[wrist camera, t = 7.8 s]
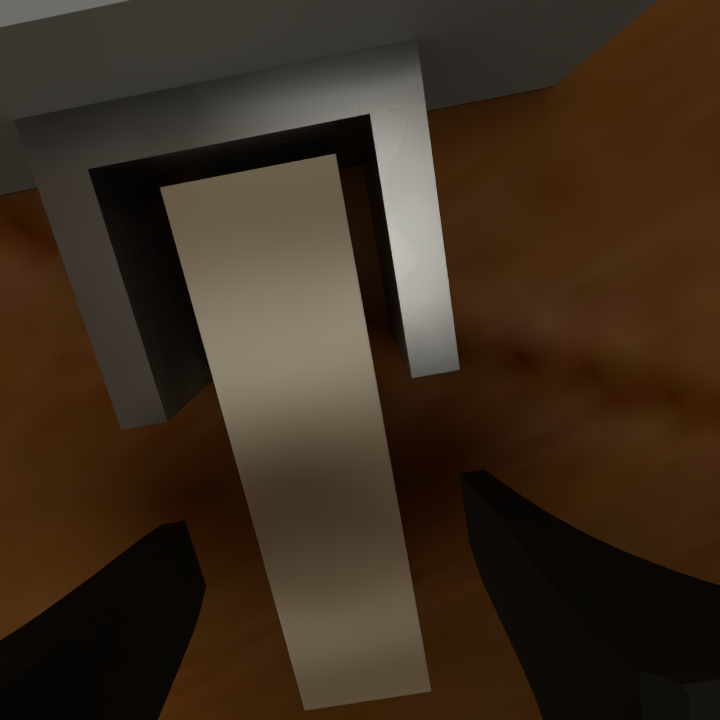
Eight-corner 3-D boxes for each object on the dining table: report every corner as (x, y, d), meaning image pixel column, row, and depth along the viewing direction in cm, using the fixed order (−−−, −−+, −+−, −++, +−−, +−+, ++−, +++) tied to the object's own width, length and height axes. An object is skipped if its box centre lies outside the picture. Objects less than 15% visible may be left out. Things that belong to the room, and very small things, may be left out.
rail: (412, 583, 16) (431, 691, 12) (316, 598, 16) (304, 710, 12) (341, 184, 12) (335, 153, 9) (220, 207, 13) (160, 187, 9)
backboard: (553, 86, 12) (836, -146, 5) (-14, 197, 12) (-486, 129, 5) (550, 35, 11) (847, -289, 5) (-31, 151, 12) (-555, 16, 5)
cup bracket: (424, 330, 13) (459, 369, 9) (196, 371, 13) (121, 430, 9) (393, 117, 12) (417, 38, 7) (137, 167, 12) (13, 119, 8)
